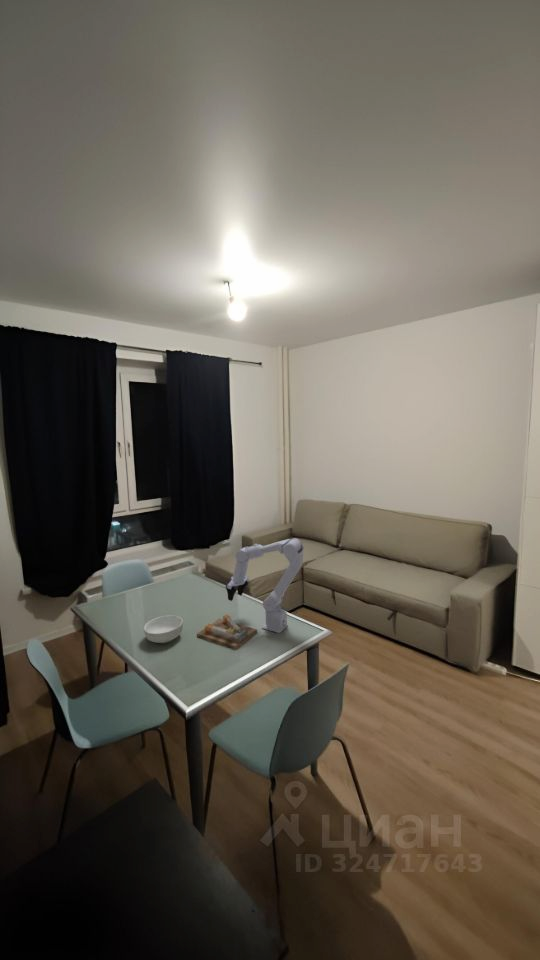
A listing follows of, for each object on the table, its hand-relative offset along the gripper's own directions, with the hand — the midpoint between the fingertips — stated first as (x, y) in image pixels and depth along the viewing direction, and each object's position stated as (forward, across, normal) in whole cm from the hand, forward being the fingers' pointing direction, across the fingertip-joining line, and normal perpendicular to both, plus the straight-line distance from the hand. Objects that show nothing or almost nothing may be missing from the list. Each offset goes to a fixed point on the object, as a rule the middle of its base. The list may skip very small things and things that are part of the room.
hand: (234, 597), depth 185 cm
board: (+10, +12, +8) cm, 18 cm away
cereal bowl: (+17, +28, -14) cm, 36 cm away
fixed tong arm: (+9, +15, +9) cm, 19 cm away
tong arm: (+9, +10, +9) cm, 15 cm away
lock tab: (+4, +17, +12) cm, 21 cm away
